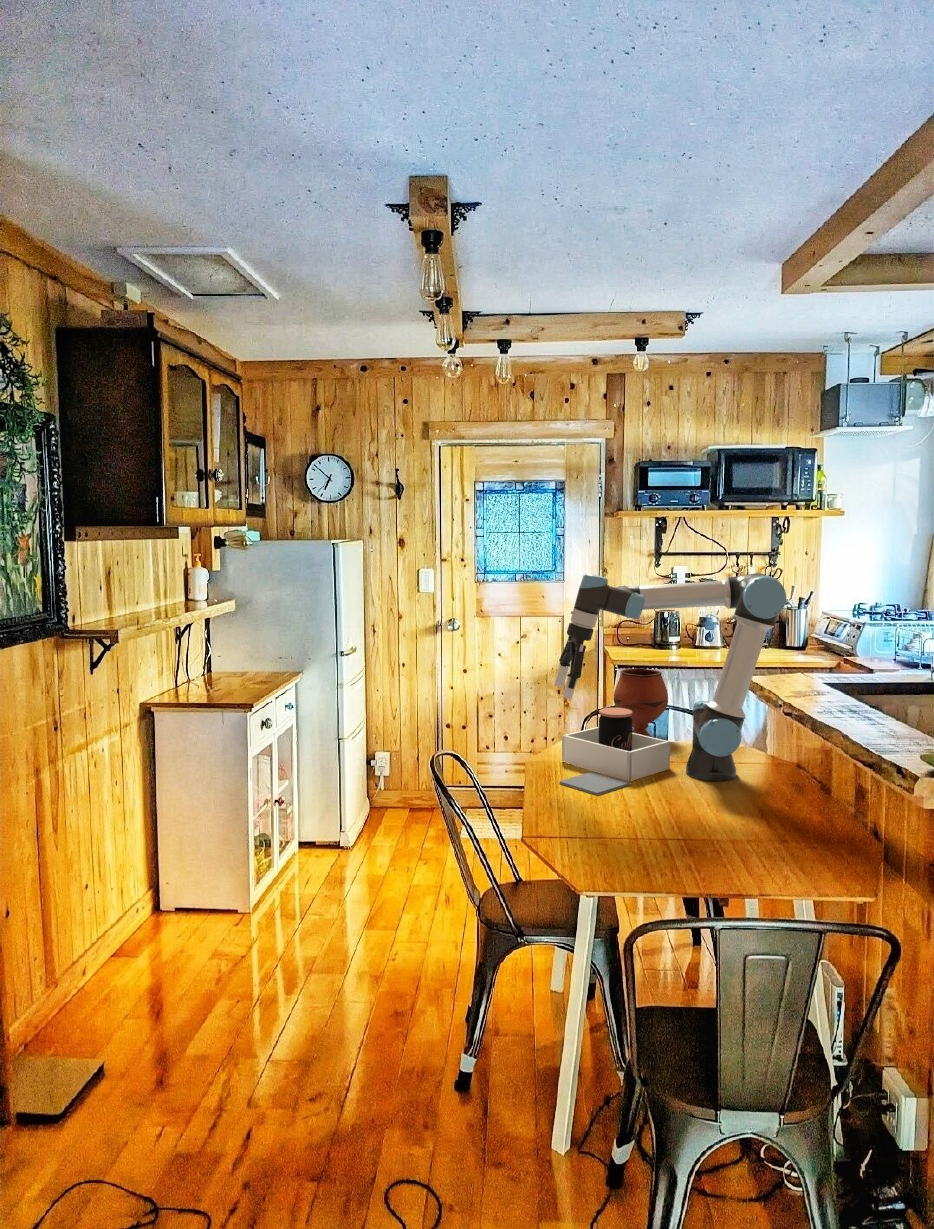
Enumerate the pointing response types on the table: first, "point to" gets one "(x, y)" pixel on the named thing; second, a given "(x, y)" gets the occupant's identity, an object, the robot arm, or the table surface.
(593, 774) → the mat
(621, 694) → the goblet
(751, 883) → the table surface
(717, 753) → the robot arm
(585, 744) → the crate
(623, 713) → the coffee jar
